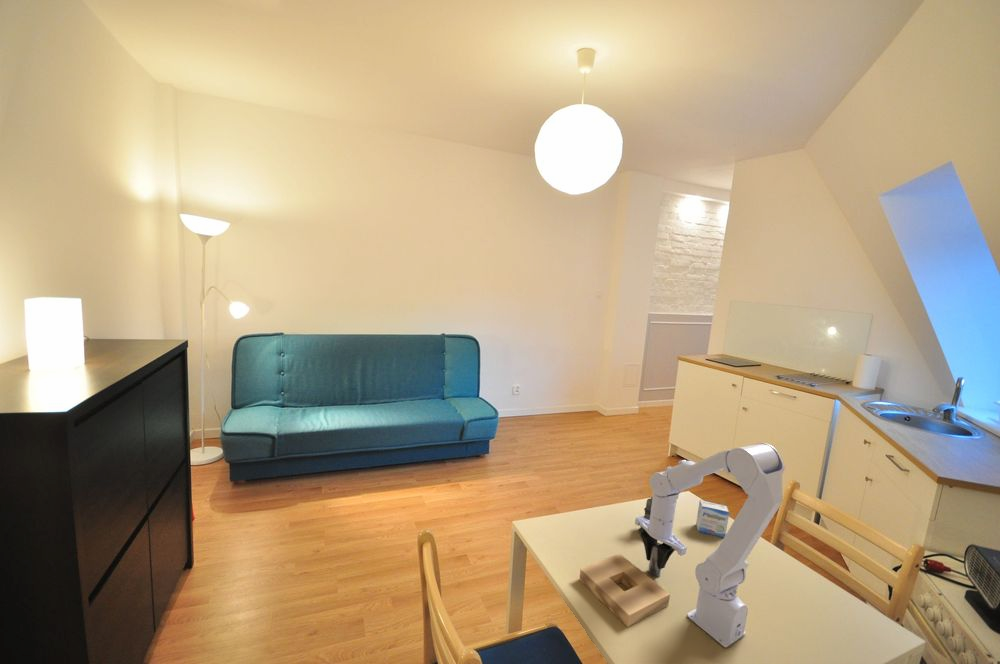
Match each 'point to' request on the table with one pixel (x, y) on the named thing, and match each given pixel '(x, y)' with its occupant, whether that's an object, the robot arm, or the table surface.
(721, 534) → the medicine box
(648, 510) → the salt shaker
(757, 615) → the table surface
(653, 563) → the metal peg
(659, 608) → the oak hole block
